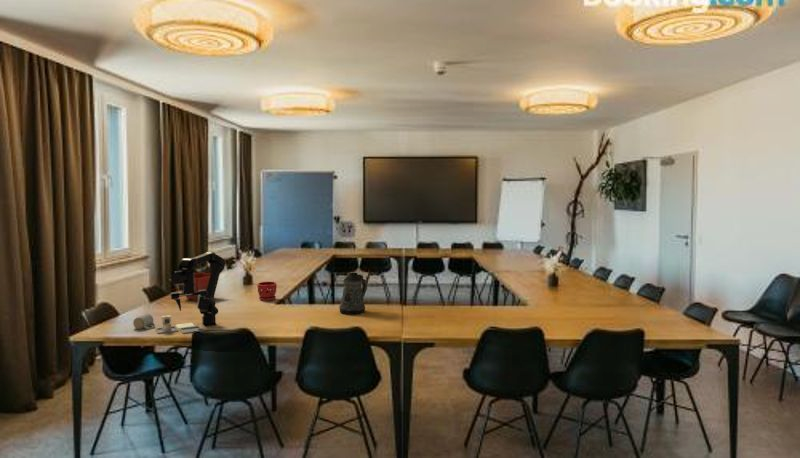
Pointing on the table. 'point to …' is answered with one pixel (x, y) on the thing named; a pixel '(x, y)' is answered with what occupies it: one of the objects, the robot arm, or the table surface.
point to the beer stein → (353, 295)
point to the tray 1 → (160, 331)
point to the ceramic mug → (144, 322)
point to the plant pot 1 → (199, 283)
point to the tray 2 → (189, 329)
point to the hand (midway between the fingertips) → (189, 309)
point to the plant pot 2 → (267, 290)
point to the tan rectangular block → (166, 323)
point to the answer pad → (184, 325)
